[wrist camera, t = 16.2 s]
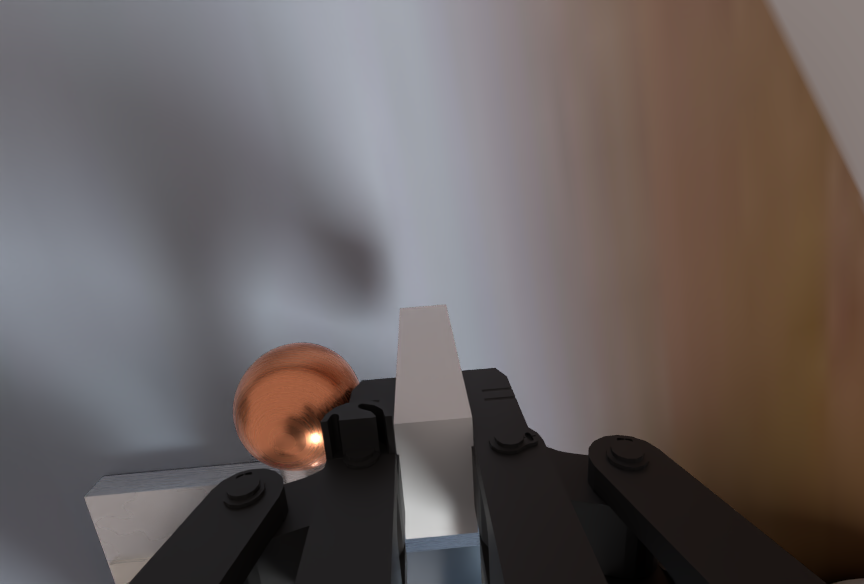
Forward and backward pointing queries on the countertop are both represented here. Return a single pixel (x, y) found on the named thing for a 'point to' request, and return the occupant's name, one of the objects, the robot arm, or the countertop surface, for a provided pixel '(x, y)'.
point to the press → (185, 489)
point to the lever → (291, 406)
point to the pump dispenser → (851, 581)
